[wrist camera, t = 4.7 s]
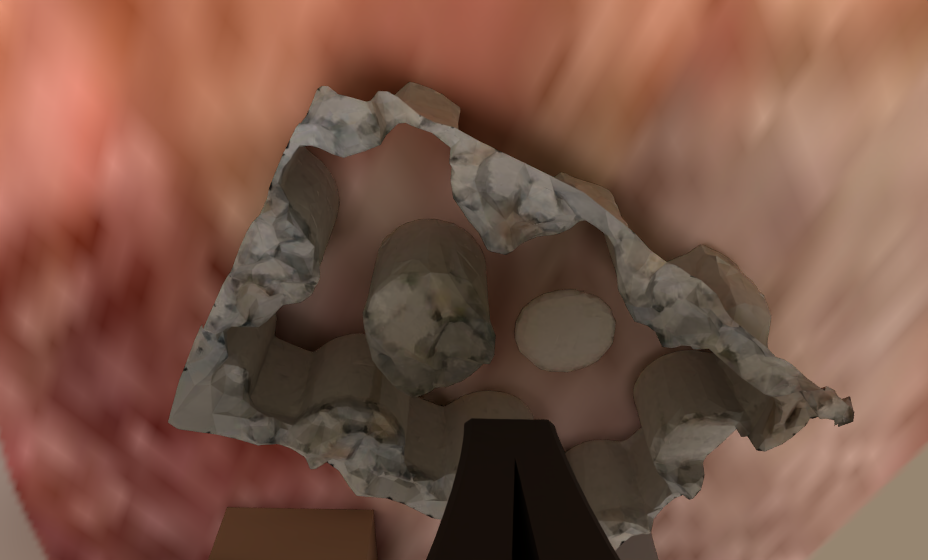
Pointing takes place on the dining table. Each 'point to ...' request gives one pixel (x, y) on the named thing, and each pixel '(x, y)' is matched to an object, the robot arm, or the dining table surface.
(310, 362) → the grey piece
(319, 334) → the dining table surface
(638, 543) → the slate-grey block
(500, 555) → the robot arm
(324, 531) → the walnut block
